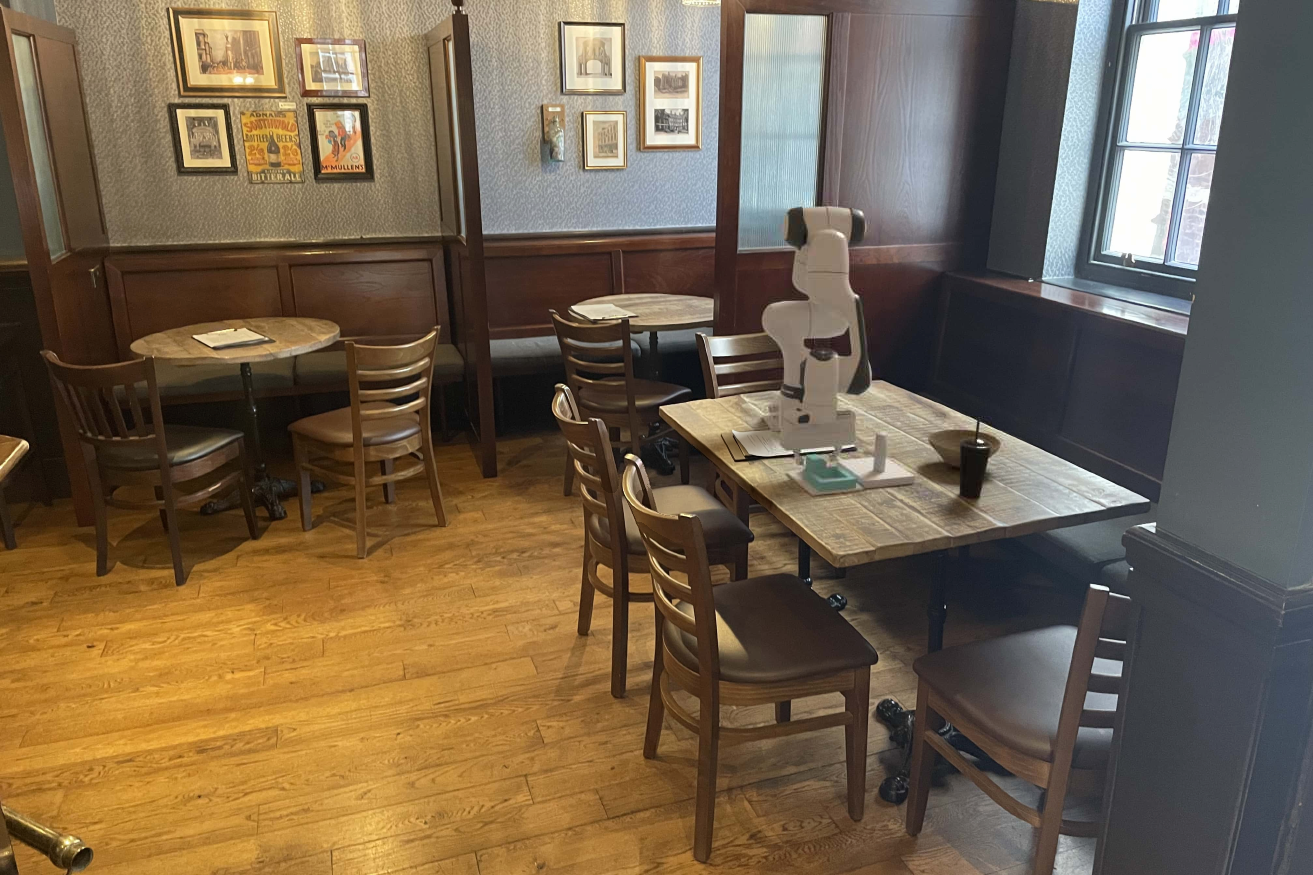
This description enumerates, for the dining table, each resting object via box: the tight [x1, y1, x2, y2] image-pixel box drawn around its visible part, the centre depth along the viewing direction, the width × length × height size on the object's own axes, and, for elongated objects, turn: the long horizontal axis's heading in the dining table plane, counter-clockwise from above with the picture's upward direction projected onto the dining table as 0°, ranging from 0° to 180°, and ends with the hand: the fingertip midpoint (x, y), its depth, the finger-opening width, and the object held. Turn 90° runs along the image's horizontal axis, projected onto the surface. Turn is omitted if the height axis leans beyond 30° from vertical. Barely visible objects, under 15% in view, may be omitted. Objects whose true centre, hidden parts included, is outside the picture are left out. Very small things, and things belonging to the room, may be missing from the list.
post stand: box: [836, 431, 916, 489], centre depth 240 cm, size 16×14×12 cm
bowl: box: [927, 428, 1002, 469], centre depth 247 cm, size 18×18×8 cm
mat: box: [786, 469, 864, 496], centre depth 237 cm, size 16×14×1 cm
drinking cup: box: [959, 417, 992, 500], centre depth 225 cm, size 8×8×20 cm
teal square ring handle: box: [802, 454, 857, 492], centre depth 236 cm, size 16×10×4 cm, turn 16°
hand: (816, 463), depth 240 cm, fingers open, 8 cm apart
